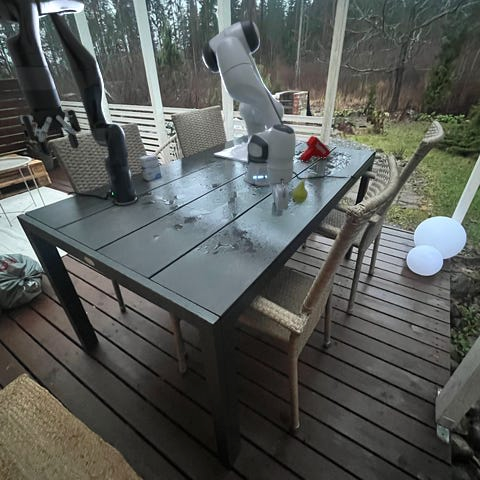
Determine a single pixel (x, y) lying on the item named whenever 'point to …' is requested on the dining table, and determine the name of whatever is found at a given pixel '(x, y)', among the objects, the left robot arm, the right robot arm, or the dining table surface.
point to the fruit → (300, 192)
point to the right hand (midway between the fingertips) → (277, 210)
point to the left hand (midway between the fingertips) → (61, 151)
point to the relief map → (235, 153)
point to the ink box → (150, 167)
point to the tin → (275, 210)
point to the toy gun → (315, 149)
